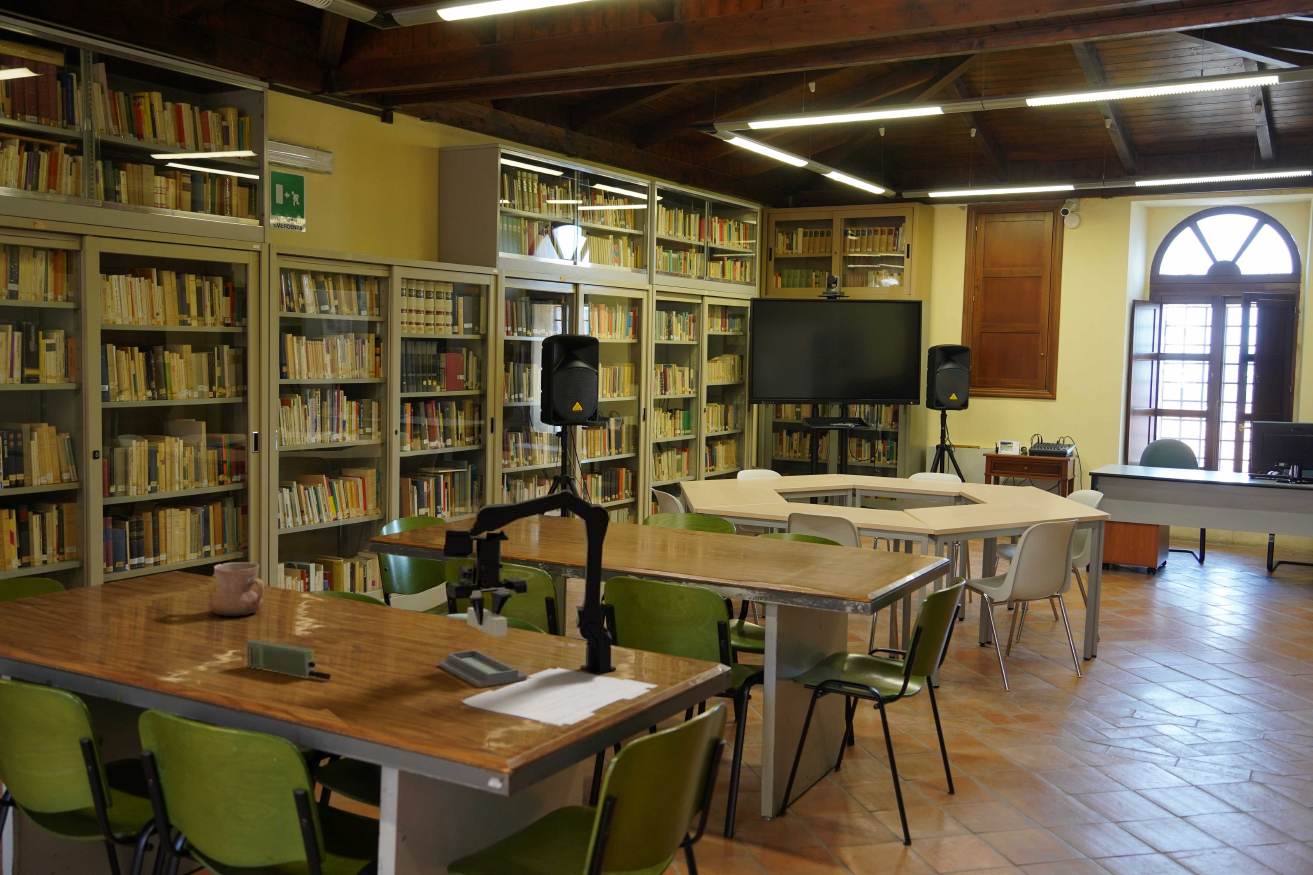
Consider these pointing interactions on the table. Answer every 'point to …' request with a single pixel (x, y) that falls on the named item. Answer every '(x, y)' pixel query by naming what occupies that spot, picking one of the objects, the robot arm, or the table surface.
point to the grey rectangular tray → (480, 669)
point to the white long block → (488, 622)
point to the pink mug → (237, 589)
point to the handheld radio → (282, 658)
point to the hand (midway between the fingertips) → (486, 624)
